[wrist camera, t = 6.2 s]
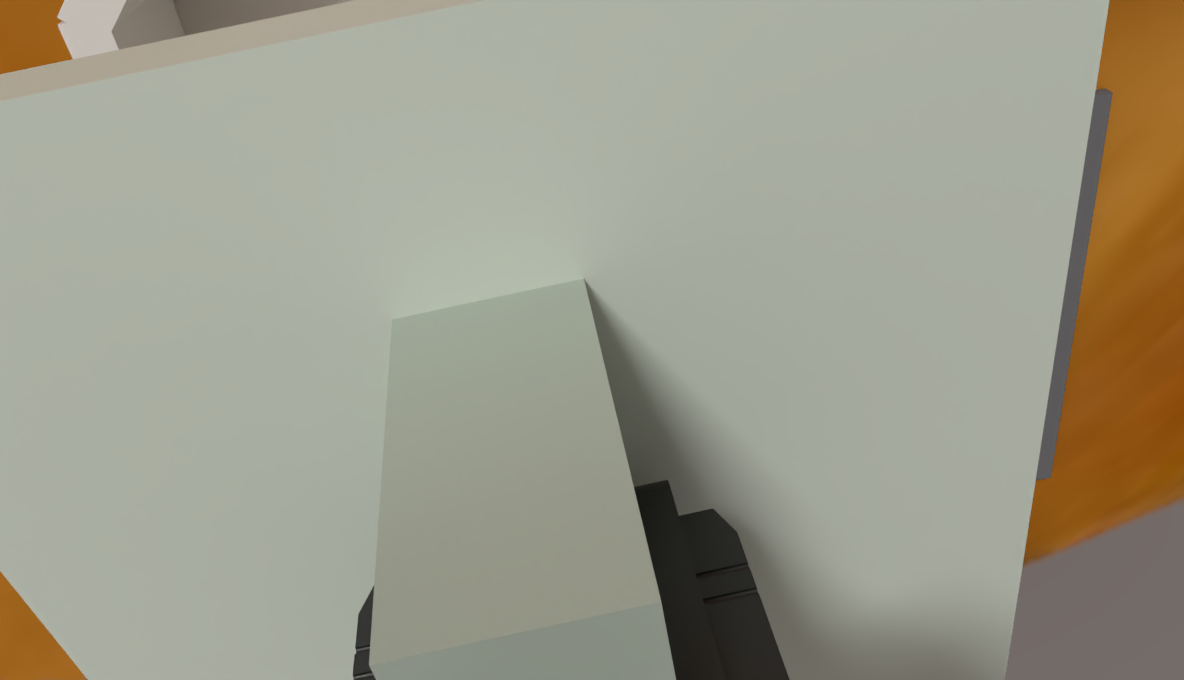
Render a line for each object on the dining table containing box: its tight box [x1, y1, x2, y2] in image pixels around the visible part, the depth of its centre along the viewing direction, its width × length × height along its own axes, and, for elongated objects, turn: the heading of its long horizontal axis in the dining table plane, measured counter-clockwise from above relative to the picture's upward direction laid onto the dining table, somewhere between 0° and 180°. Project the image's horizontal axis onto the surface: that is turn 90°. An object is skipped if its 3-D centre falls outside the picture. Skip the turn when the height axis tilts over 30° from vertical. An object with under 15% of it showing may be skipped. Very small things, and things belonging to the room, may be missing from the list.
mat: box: [1036, 89, 1112, 480], centre depth 34 cm, size 16×16×1 cm
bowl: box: [57, 0, 354, 59], centre depth 24 cm, size 12×12×6 cm
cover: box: [0, 0, 1109, 680], centre depth 12 cm, size 15×15×6 cm
